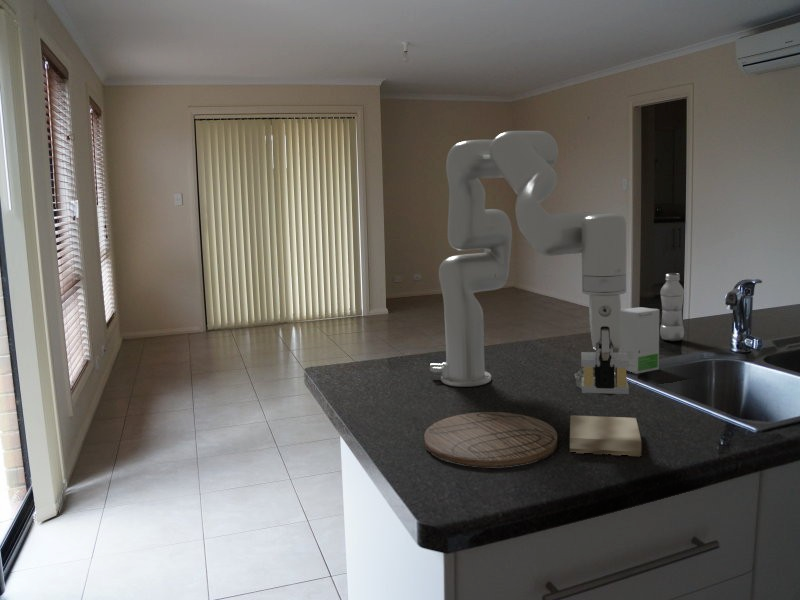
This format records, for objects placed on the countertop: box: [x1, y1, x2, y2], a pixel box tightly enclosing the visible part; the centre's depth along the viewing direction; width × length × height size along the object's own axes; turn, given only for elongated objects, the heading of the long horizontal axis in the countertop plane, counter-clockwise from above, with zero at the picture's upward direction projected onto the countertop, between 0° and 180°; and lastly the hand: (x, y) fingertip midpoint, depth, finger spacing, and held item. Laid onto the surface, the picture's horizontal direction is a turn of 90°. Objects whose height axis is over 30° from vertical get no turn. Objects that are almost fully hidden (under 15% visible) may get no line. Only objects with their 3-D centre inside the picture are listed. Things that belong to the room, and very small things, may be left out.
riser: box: [569, 414, 642, 457], centre depth 122 cm, size 12×12×3 cm
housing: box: [580, 351, 630, 395], centre depth 120 cm, size 6×8×6 cm
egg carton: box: [573, 367, 595, 390], centre depth 158 cm, size 11×8×4 cm
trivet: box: [423, 411, 558, 467], centre depth 126 cm, size 25×25×2 cm
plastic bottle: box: [659, 272, 685, 342], centre depth 196 cm, size 6×7×20 cm
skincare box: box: [618, 306, 660, 375], centre depth 168 cm, size 8×7×16 cm
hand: (604, 381), depth 120 cm, fingers closed on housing, 6 cm apart
